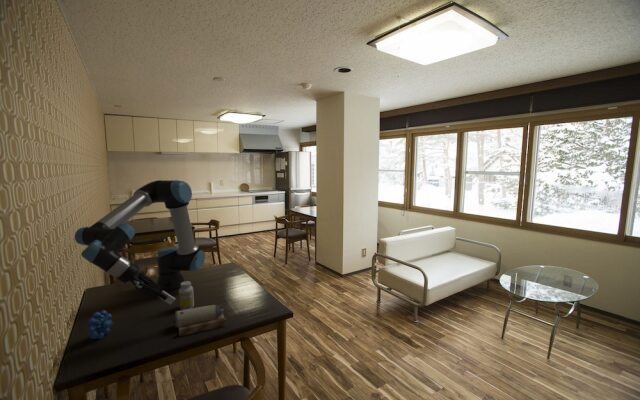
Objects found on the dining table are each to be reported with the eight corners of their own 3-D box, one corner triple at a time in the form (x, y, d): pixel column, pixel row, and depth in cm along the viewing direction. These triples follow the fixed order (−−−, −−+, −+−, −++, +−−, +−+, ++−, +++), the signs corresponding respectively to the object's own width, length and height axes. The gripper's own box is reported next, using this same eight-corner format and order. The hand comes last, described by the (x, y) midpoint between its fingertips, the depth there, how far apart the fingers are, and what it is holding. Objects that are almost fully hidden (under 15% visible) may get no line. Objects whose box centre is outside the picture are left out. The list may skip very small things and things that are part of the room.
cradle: (179, 336, 120) (178, 330, 119) (178, 318, 134) (178, 313, 134) (226, 325, 128) (226, 319, 128) (221, 309, 142) (221, 304, 142)
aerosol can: (176, 318, 130) (223, 310, 138) (175, 331, 124) (224, 321, 132) (175, 307, 127) (223, 299, 135) (174, 320, 121) (224, 311, 129)
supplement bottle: (182, 304, 148) (181, 280, 147) (196, 304, 148) (194, 280, 147) (177, 310, 141) (176, 285, 140) (191, 310, 142) (190, 285, 140)
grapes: (98, 347, 112) (96, 318, 111) (82, 346, 113) (80, 317, 112) (121, 330, 124) (119, 304, 123) (107, 330, 124) (104, 303, 123)
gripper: (119, 272, 120) (166, 302, 129) (113, 283, 108) (165, 315, 117) (133, 258, 122) (179, 288, 131) (129, 267, 110) (179, 300, 119)
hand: (172, 301), depth 124 cm, fingers closed
